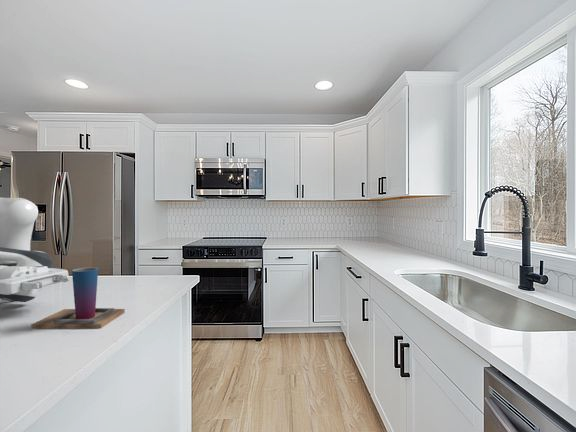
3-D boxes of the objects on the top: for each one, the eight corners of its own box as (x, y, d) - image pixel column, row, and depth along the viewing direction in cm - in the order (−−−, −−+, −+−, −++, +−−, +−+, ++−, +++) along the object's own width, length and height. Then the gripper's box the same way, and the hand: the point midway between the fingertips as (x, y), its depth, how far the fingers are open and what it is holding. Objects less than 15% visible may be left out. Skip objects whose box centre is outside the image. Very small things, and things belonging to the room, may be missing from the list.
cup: (95, 312, 102) (95, 266, 102) (100, 317, 97) (100, 269, 97) (70, 317, 97) (69, 269, 97) (74, 322, 92) (74, 272, 92)
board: (31, 328, 91) (31, 320, 91) (64, 312, 105) (64, 306, 105) (101, 328, 92) (101, 320, 92) (124, 312, 106) (124, 306, 106)
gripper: (-18, 277, 92) (20, 279, 89) (48, 265, 112) (81, 266, 110) (-18, 298, 92) (20, 301, 90) (48, 282, 112) (81, 284, 110)
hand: (54, 282), depth 100 cm, fingers open, 8 cm apart
